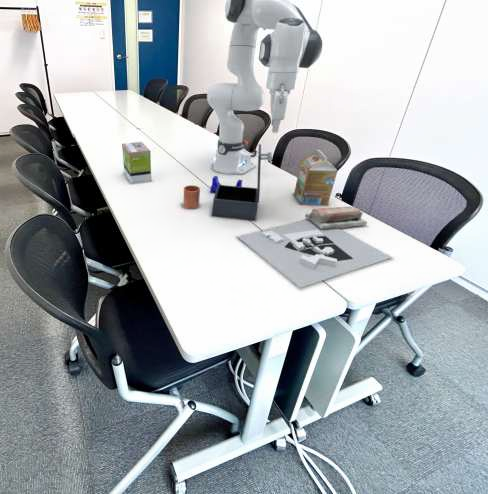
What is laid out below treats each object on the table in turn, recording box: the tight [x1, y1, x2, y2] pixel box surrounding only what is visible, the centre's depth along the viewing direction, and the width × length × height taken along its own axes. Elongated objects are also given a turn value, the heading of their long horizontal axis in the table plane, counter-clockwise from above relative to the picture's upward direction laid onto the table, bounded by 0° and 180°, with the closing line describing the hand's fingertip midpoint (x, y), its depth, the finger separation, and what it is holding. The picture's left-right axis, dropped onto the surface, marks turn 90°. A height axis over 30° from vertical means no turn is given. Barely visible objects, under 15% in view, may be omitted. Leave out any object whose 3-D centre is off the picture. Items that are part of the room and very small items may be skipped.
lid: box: [256, 143, 273, 203], centre depth 119 cm, size 16×15×5 cm
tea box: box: [121, 141, 152, 185], centre depth 155 cm, size 15×10×15 cm, turn 18°
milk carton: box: [293, 149, 338, 206], centre depth 132 cm, size 11×11×19 cm
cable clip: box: [210, 175, 243, 194], centre depth 141 cm, size 12×4×6 cm, turn 65°
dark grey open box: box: [211, 184, 259, 222], centre depth 127 cm, size 16×15×7 cm
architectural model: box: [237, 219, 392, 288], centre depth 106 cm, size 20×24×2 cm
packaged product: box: [304, 206, 368, 229], centre depth 118 cm, size 18×5×10 cm
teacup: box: [182, 185, 201, 210], centre depth 131 cm, size 6×6×7 cm
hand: (274, 128), depth 110 cm, fingers open, 8 cm apart
